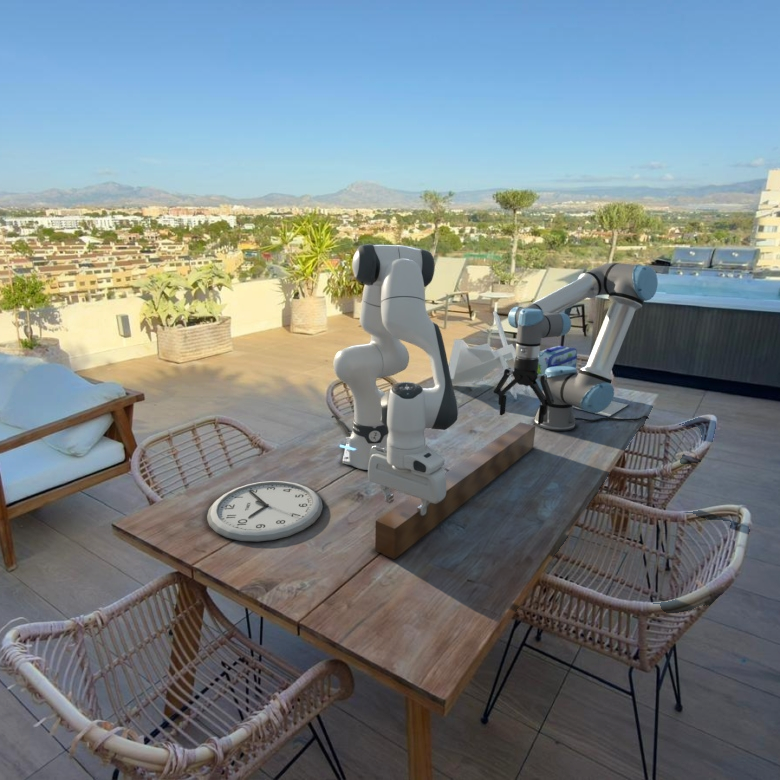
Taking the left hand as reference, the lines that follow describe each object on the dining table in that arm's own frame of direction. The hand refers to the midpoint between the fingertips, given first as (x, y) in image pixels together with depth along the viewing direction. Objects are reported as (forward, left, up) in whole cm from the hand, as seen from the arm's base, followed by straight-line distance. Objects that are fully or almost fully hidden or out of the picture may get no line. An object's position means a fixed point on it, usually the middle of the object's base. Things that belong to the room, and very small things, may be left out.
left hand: (405, 507), depth 124 cm
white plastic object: (-112, +61, -10) cm, 128 cm away
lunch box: (-109, +96, -10) cm, 146 cm away
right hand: (-46, +50, +3) cm, 68 cm away
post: (-23, +25, -10) cm, 35 cm away
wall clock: (-21, -33, -10) cm, 40 cm away
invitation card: (-85, +107, -10) cm, 137 cm away
